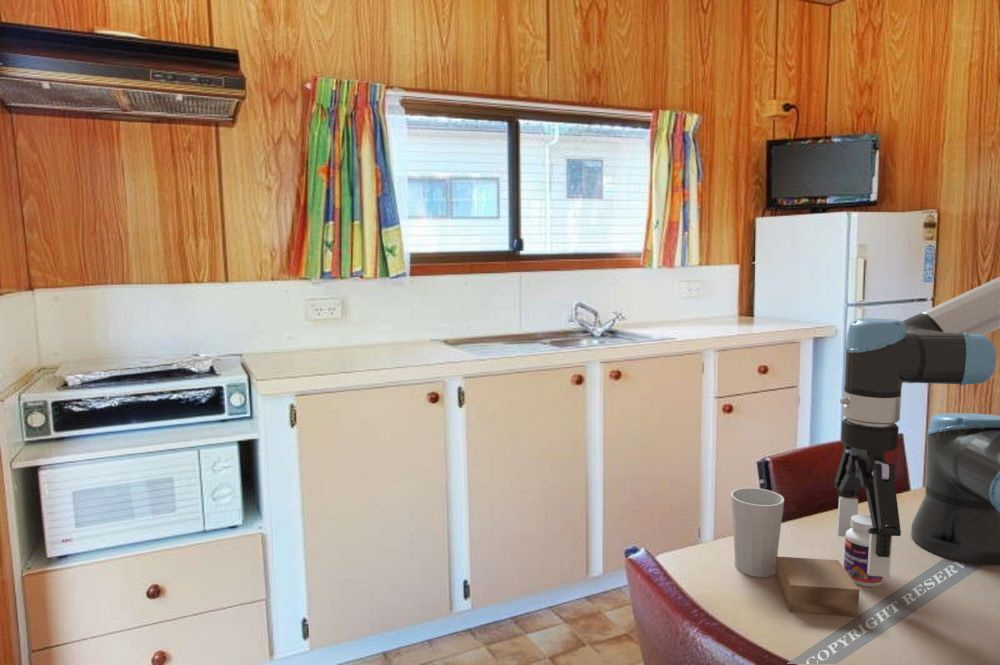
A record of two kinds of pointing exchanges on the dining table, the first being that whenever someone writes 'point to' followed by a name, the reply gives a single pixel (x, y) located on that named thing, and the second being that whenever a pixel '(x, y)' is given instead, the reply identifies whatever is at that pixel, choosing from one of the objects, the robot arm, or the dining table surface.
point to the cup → (756, 530)
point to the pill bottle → (859, 552)
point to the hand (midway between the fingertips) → (861, 554)
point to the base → (816, 586)
